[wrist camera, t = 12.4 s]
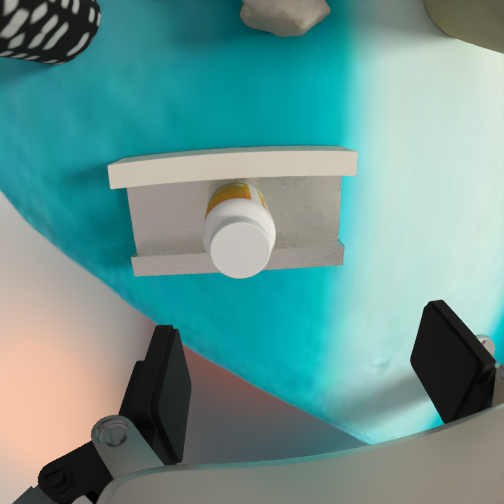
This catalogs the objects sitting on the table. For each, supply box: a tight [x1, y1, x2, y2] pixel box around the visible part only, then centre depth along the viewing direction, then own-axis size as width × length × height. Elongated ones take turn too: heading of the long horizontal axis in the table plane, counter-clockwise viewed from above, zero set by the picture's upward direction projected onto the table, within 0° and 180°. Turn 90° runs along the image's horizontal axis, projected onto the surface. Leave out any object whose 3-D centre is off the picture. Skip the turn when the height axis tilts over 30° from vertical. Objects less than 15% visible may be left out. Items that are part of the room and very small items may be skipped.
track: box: [108, 145, 357, 276], centre depth 28 cm, size 20×11×5 cm, turn 92°
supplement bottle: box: [202, 182, 276, 278], centre depth 25 cm, size 5×5×10 cm
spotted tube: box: [0, 0, 101, 65], centre depth 13 cm, size 8×8×20 cm
